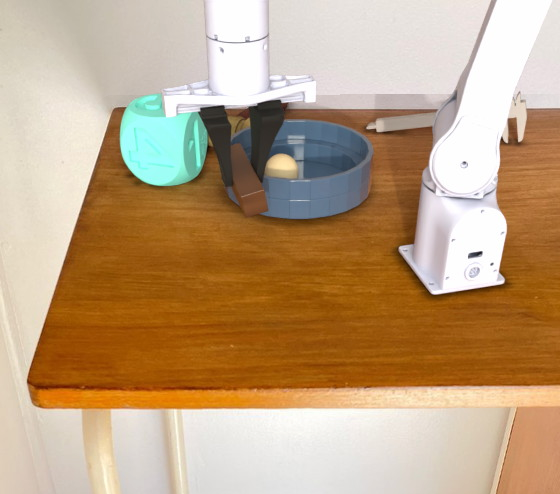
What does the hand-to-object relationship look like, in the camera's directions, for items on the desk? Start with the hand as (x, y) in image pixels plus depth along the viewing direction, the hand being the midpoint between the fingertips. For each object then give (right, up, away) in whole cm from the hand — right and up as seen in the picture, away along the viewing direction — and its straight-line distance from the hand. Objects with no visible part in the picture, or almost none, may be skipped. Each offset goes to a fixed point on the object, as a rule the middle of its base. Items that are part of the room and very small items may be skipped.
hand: (242, 180), depth 86 cm
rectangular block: (0, -1, +1) cm, 1 cm away
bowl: (+6, +5, +15) cm, 17 cm away
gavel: (+1, +18, +29) cm, 34 cm away
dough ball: (+4, +6, +13) cm, 14 cm away
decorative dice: (-10, +8, +19) cm, 23 cm away
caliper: (+25, +16, +26) cm, 40 cm away
